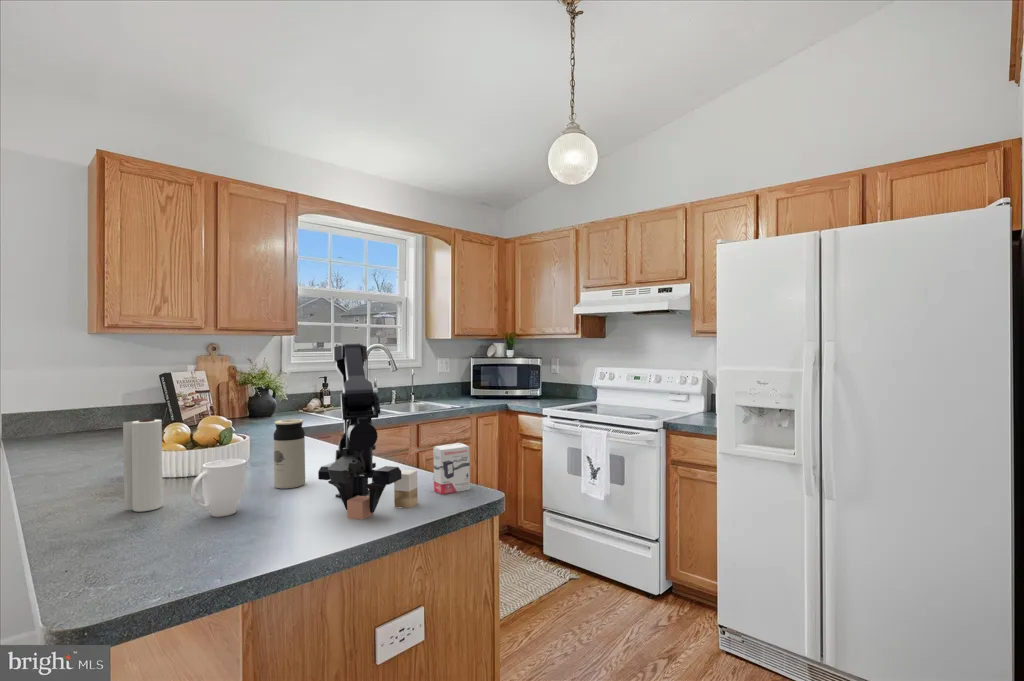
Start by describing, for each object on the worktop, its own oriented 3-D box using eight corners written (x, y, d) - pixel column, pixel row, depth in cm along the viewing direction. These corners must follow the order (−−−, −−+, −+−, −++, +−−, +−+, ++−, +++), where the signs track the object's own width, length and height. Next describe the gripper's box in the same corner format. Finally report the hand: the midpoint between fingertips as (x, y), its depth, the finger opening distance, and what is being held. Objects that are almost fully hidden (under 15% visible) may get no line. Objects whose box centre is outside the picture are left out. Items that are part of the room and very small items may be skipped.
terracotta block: (347, 518, 120) (347, 500, 120) (358, 512, 124) (357, 495, 124) (362, 519, 119) (362, 501, 119) (372, 514, 123) (372, 496, 123)
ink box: (441, 495, 137) (440, 449, 137) (433, 490, 141) (432, 446, 141) (470, 489, 142) (470, 445, 142) (462, 485, 146) (461, 442, 146)
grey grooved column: (168, 506, 131) (167, 419, 131) (142, 513, 125) (141, 422, 126) (150, 503, 134) (149, 417, 134) (124, 510, 128) (122, 421, 129)
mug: (230, 505, 131) (230, 456, 131) (253, 511, 126) (253, 460, 126) (181, 519, 120) (181, 466, 120) (204, 526, 116) (205, 471, 116)
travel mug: (297, 480, 154) (296, 418, 155) (310, 485, 149) (309, 420, 149) (269, 485, 149) (268, 421, 149) (281, 491, 143) (280, 423, 143)
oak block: (394, 507, 127) (394, 490, 128) (403, 502, 131) (403, 485, 131) (409, 508, 126) (409, 491, 126) (417, 503, 130) (417, 487, 130)
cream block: (394, 490, 128) (393, 473, 128) (403, 485, 131) (402, 469, 131) (409, 491, 126) (408, 474, 126) (417, 487, 130) (417, 470, 130)
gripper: (300, 447, 117) (301, 518, 117) (374, 451, 111) (375, 526, 111) (333, 438, 127) (334, 503, 127) (402, 441, 121) (403, 510, 121)
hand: (360, 511), depth 121 cm, fingers open, 6 cm apart
